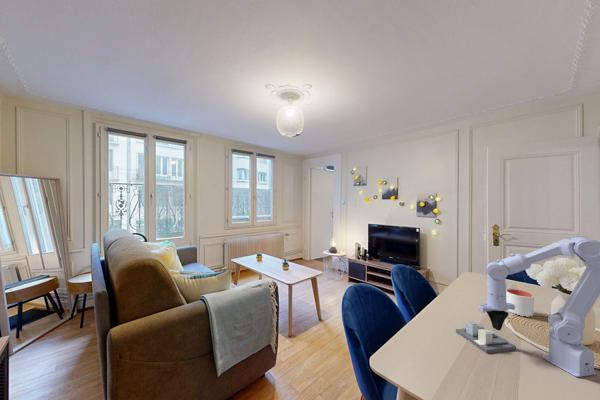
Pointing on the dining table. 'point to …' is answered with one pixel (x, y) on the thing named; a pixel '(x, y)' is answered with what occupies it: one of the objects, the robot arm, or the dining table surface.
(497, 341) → the switch panel
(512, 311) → the cup
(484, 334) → the cream switch
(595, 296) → the robot arm
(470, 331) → the grey switch
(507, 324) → the dining table surface
